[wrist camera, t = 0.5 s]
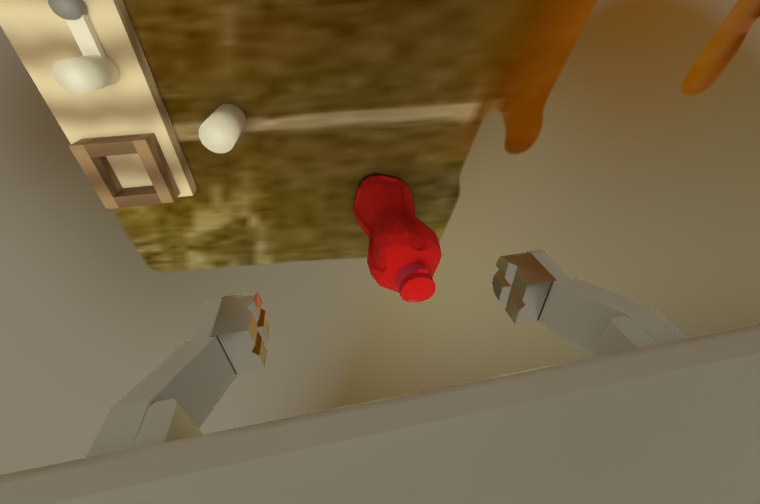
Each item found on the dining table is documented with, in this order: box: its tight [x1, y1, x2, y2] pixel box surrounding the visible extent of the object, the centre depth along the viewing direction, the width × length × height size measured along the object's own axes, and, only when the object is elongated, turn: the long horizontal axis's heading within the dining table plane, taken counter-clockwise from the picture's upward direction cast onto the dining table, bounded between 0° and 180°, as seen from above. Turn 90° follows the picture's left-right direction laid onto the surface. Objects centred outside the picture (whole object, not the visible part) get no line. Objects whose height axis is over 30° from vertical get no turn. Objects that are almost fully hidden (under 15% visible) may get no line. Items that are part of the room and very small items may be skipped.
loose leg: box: [199, 103, 246, 153], centre depth 42 cm, size 4×4×9 cm
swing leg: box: [48, 0, 120, 95], centre depth 34 cm, size 9×3×6 cm, turn 2°
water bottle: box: [354, 175, 441, 302], centre depth 48 cm, size 9×11×25 cm
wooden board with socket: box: [0, 0, 197, 209], centre depth 40 cm, size 26×12×5 cm, turn 2°
